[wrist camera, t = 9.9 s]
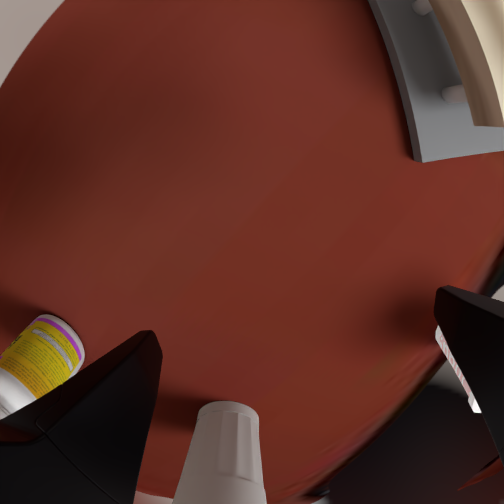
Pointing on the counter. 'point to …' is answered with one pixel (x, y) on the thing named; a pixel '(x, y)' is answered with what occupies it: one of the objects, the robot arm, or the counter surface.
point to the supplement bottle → (38, 362)
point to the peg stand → (430, 84)
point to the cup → (223, 458)
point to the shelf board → (477, 53)
